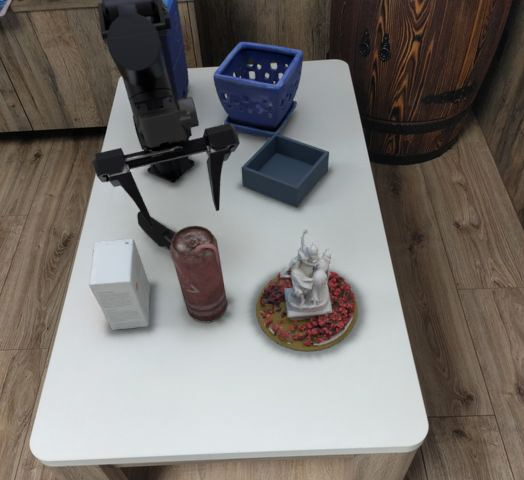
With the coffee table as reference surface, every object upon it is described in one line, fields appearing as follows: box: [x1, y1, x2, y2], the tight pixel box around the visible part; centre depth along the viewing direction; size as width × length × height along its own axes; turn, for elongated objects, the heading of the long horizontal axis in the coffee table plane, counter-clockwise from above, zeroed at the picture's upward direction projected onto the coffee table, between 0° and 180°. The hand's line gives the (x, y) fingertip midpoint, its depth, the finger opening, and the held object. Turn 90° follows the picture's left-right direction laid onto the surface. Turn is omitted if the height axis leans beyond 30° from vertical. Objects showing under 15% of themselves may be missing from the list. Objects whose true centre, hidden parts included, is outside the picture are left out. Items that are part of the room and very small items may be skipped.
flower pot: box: [212, 41, 304, 139], centre depth 94 cm, size 13×13×12 cm
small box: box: [88, 238, 151, 331], centre depth 71 cm, size 8×6×10 cm
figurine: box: [255, 228, 359, 352], centre depth 68 cm, size 15×15×14 cm
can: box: [169, 225, 228, 323], centre depth 69 cm, size 6×6×14 cm
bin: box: [240, 133, 330, 208], centre depth 88 cm, size 11×11×4 cm
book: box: [160, 0, 190, 100], centre depth 95 cm, size 14×5×20 cm, turn 178°
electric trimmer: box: [136, 210, 177, 251], centre depth 81 cm, size 4×16×3 cm, turn 45°
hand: (185, 218), depth 68 cm, fingers open, 9 cm apart
